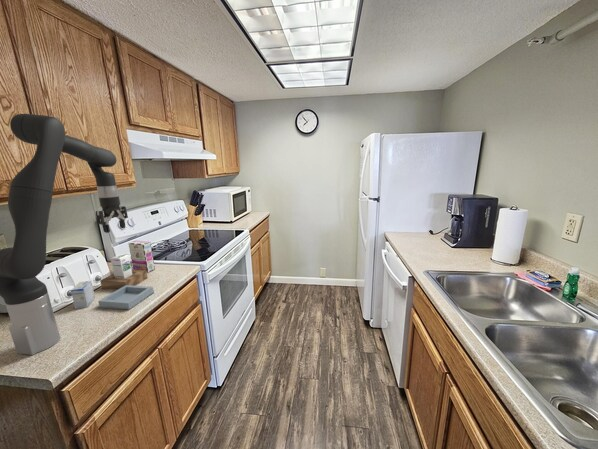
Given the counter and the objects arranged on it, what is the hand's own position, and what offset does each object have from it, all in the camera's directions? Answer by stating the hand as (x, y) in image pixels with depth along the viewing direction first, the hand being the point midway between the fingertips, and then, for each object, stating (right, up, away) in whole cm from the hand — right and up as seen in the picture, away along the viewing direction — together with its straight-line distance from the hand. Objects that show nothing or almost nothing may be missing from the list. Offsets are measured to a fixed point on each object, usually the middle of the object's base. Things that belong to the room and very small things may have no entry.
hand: (115, 230), depth 119 cm
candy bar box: (0, -23, +22) cm, 32 cm away
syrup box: (+1, -27, +7) cm, 28 cm away
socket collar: (+1, -27, +6) cm, 28 cm away
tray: (+12, -30, -9) cm, 34 cm away
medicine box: (-4, -31, -11) cm, 34 cm away
